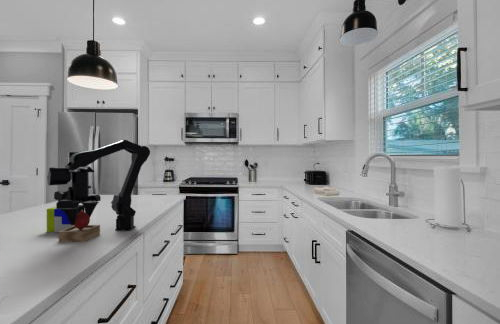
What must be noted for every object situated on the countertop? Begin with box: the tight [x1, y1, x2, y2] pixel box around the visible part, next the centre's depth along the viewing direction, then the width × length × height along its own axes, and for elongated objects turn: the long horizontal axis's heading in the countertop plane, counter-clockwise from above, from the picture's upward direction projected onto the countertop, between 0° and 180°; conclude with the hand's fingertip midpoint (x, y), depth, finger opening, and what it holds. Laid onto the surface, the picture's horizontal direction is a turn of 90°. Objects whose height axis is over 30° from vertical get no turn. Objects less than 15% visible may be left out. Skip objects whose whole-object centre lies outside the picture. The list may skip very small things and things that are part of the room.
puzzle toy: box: [46, 204, 85, 233], centre depth 117 cm, size 10×10×10 cm
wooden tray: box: [58, 224, 101, 242], centre depth 104 cm, size 10×10×4 cm
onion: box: [74, 210, 91, 230], centre depth 104 cm, size 6×6×8 cm
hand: (80, 222), depth 104 cm, fingers open, 9 cm apart
